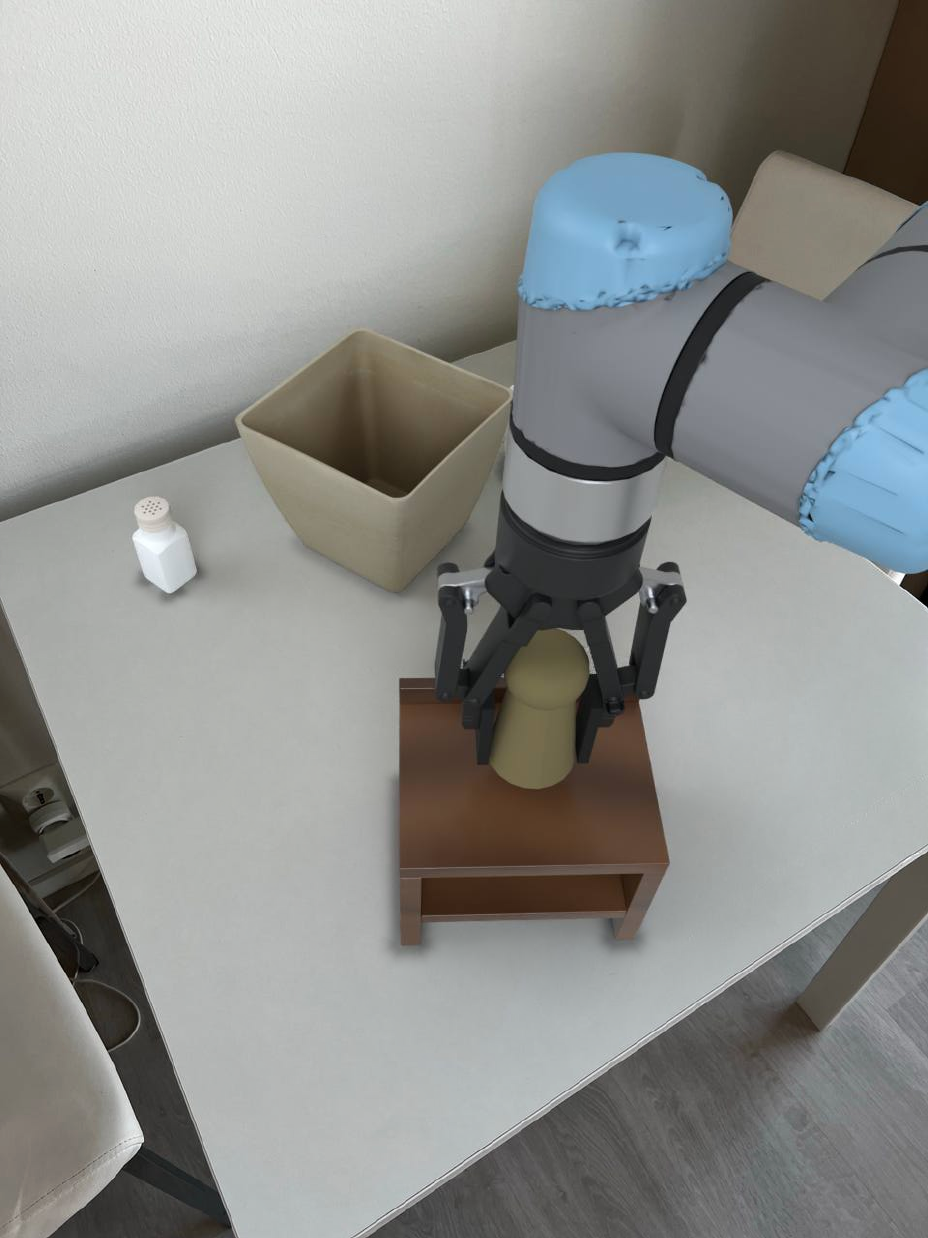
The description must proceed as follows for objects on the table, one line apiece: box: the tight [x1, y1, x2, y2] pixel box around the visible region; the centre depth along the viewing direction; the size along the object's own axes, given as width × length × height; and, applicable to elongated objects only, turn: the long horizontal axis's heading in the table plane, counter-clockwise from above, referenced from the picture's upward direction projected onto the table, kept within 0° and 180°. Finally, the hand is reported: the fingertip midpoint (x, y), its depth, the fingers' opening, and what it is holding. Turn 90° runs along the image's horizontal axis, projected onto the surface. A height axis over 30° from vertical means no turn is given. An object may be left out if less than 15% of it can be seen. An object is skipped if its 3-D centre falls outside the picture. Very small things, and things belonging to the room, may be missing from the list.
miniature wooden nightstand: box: [398, 676, 671, 946], centre depth 71 cm, size 14×18×16 cm
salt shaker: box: [131, 496, 198, 594], centre depth 91 cm, size 4×4×10 cm
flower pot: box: [234, 326, 513, 593], centre depth 94 cm, size 19×19×17 cm
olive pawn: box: [489, 628, 591, 789], centre depth 60 cm, size 6×6×11 cm
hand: (531, 746), depth 64 cm, fingers closed on olive pawn, 6 cm apart
